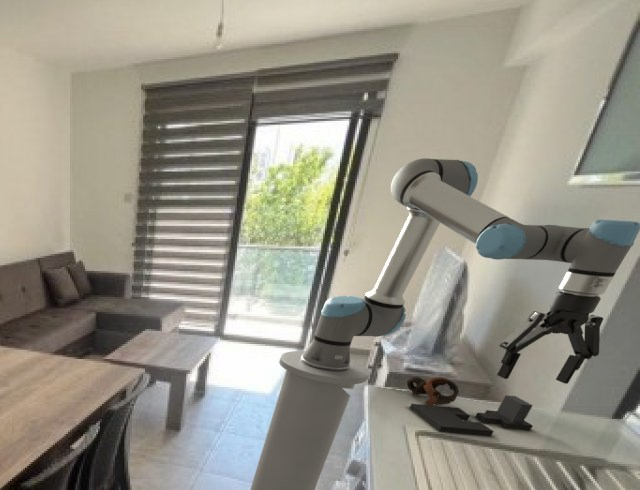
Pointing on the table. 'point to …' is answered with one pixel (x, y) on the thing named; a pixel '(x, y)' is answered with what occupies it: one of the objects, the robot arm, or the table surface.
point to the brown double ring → (433, 389)
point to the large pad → (450, 420)
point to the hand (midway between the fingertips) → (531, 379)
